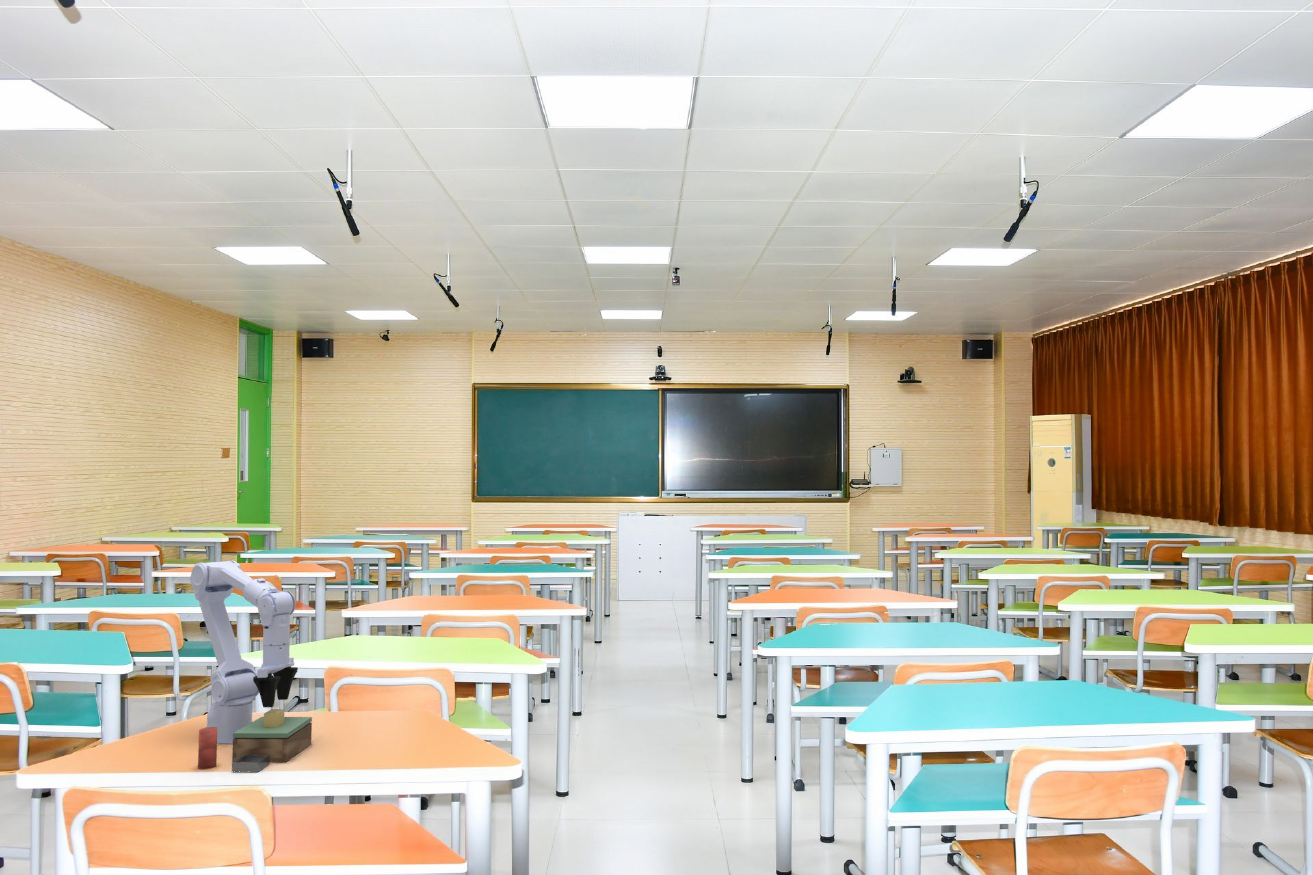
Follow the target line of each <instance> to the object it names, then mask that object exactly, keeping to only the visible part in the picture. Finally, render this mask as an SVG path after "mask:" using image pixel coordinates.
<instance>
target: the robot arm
mask: <svg viewBox="0 0 1313 875" xmlns="http://www.w3.org/2000/svg"><path fill="white" fill-rule="evenodd" d="M189 581H190V584H191V587H192V591H193V595H194V597H195V599H196V600H197V601H198V603H199V607H200V610H201V613H202V617H203V620H204V624H205V626H206V630H207V633H208V637H209V639H210V640H209V641H210V643H211V646H212V649H213V650H212V651H213V653H214V656H215V660H216V662H217V666H218V667H217V668H216V669H215V670H214V672H213V673H212V674H211V675H210V678H209V679H210V682H211V683H210V684H211V696H212V698H213V701H215V702H213V703H212V704H211V705H210V706H209V708H208V711H207V715H206V727H217V728H218V730H217V745H218V744H219V745H221V744H223V745H224V744H225V745H226V744H228V745H229V744H231V745H233V739H234V738H233V733H234V732H236V731H238V730H239V729H241V728H243V727H245V726H246V725H248V724H250V723H252V722H253V702H254V701H256V698H257V696H258V695H259V697H260V700H261V705H262V707H263V708H273V707H274V706H275V700H276V698H277V700H279V701H282V700H283V701H284V700H285V701H288V699H289V696H290V693H291V692H290V691H291V687H292V685H293V681H294V678H295V676H296V675H297V673H298V670H299V668H298V666H297V667H296V666H295V662H294V658H295V657H290V649H291V648H290V643H291V642H290V641H291V640H290V638H291V637H290V635H291V634H290V633H291V624H290V622H291V615H293V614H294V612H295V610H296V605H297V604H296V598H295V596H294V594H293V593H292V592H291V591H290V590H283V591H280V590H278V588H277V587H276V586H272V585H271V584H269V583H267V582H266V579H265V578H252V577H251V576H249V575H248V574H247V573H246V572H244V571H243V570H242V567H241V564H240V563H238V562H237V561H235V560H232V559H231V560H226V561H225V560H224V561H211V562H197V563H195V564H194V566H193V568H192V569H191V573H190V577H189ZM234 589H237V590H238V591H241V593H242V595H243V598H244V600H246V602H248V603H250V604H251V605H253V606H254V607H256V608H257V610H258V614H259V616H260V624H261V626H263V627H262V628H263V629H262V630H263V632H262V634H263V635H262V636H263V637H262V663H261V665H260V667H259V668H257V671H256V670H255V666H254V664H253V663H251V662H249V661H247V660H244V659H243V658H242V655H241V653H240V649H239V646H238V643H237V640H236V637H235V634H234V633H235V632H234V630H233V627H232V624H231V621H230V620H231V619H230V618H229V614H228V612H227V609H226V605H225V600H226V599H227V598H228V597H230V596H231V595H232V593H233V592H234Z"/></svg>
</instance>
